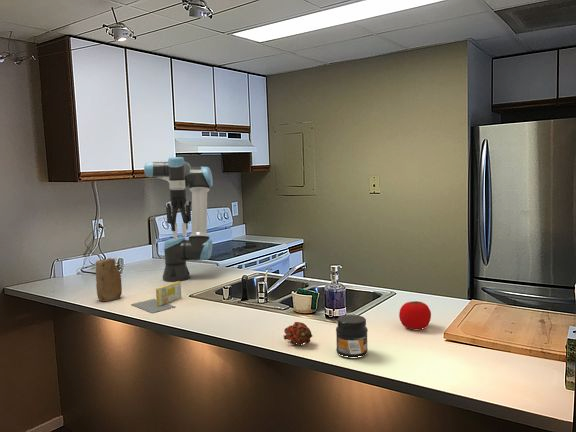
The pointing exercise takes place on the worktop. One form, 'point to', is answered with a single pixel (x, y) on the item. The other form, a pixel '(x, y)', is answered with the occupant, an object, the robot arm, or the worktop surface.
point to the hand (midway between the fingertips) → (180, 236)
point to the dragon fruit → (298, 333)
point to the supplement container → (351, 336)
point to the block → (108, 280)
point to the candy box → (168, 293)
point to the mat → (152, 306)
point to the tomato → (415, 315)
